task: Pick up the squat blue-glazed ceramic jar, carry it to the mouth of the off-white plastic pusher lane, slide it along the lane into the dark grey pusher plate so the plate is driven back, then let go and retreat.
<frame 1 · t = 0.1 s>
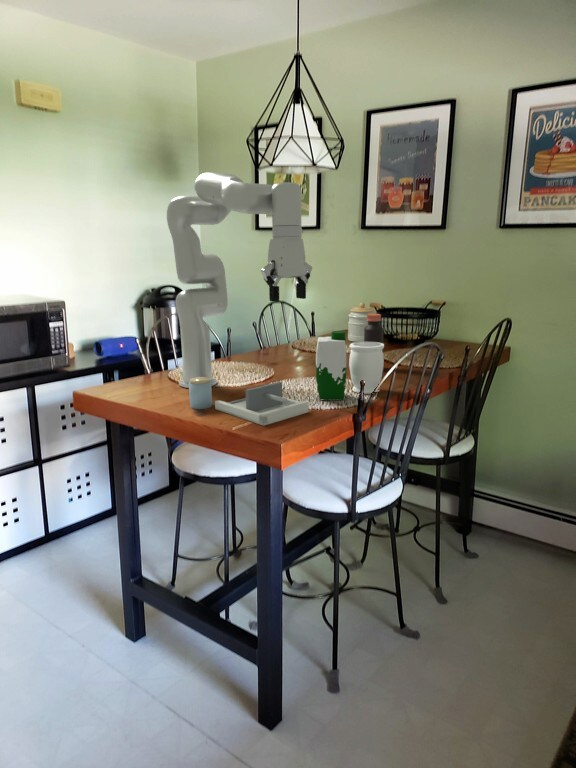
hand: (288, 299, 151), 31 cm above the table, tool pointing down, fingers open, 9 cm apart
lane: (260, 410, 160), on the table
bottle: (372, 369, 209), on the table
milk carton: (330, 397, 173), on the table
pusher: (274, 400, 155), point 4 cm above the table, slide at 0.0 cm
glazed jar: (201, 405, 166), on the table
jar 2: (361, 340, 268), on the table
jar: (365, 391, 179), on the table
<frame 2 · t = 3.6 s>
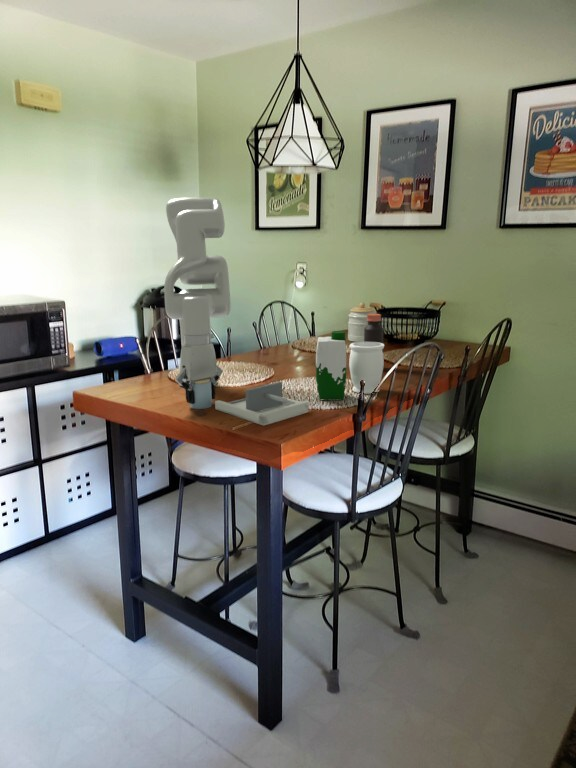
hand: (200, 400, 165), 2 cm above the table, tool pointing down, fingers closed on glazed jar, 6 cm apart
glazed jar: (201, 405, 166), on the table, touching gripper
everything else where it was.
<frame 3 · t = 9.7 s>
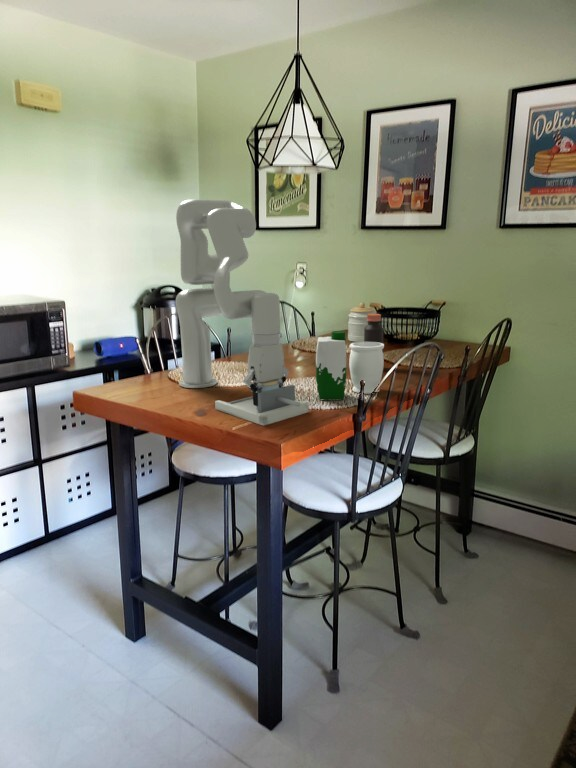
hand: (267, 402, 157), 3 cm above the table, tool pointing down, fingers closed on glazed jar, 6 cm apart
pusher: (286, 403, 151), point 4 cm above the table, slide at 5.1 cm
glazed jar: (267, 408, 158), point 1 cm above the table, touching gripper
everything else where it was.
when the fingers open (3 cm above the table, at t = 10.9 s): glazed jar stays where it is, resting on lane.
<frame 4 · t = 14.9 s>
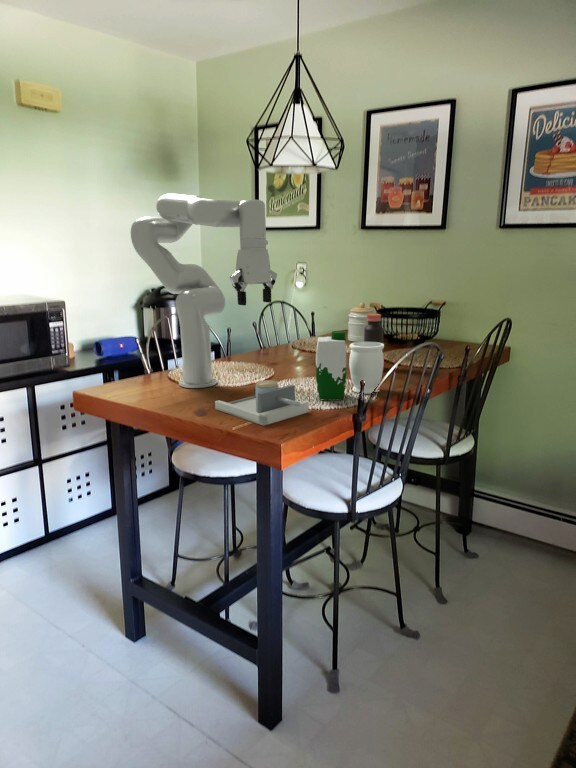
hand: (254, 303, 169), 28 cm above the table, tool pointing down, fingers open, 9 cm apart
glazed jar: (267, 410, 158), point 1 cm above the table, touching lane
everything else where it was.
at the end: pusher slide at 5.1 cm; glazed jar inside the target area (0.2 cm from its centre), point 0.6 cm above the table; glazed jar tilted 0° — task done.
